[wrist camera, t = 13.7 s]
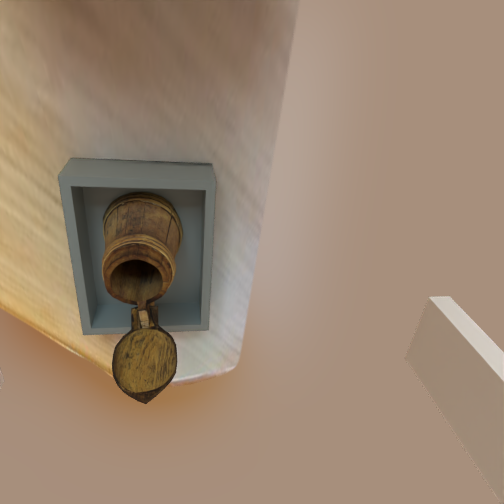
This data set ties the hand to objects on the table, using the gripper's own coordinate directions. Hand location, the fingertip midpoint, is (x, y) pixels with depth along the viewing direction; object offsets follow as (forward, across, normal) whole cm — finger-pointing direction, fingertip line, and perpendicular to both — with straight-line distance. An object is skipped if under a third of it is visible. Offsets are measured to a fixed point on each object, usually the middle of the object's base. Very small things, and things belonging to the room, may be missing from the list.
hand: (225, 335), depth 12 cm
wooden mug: (+34, -5, -16) cm, 38 cm away
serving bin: (+35, -5, -16) cm, 39 cm away
